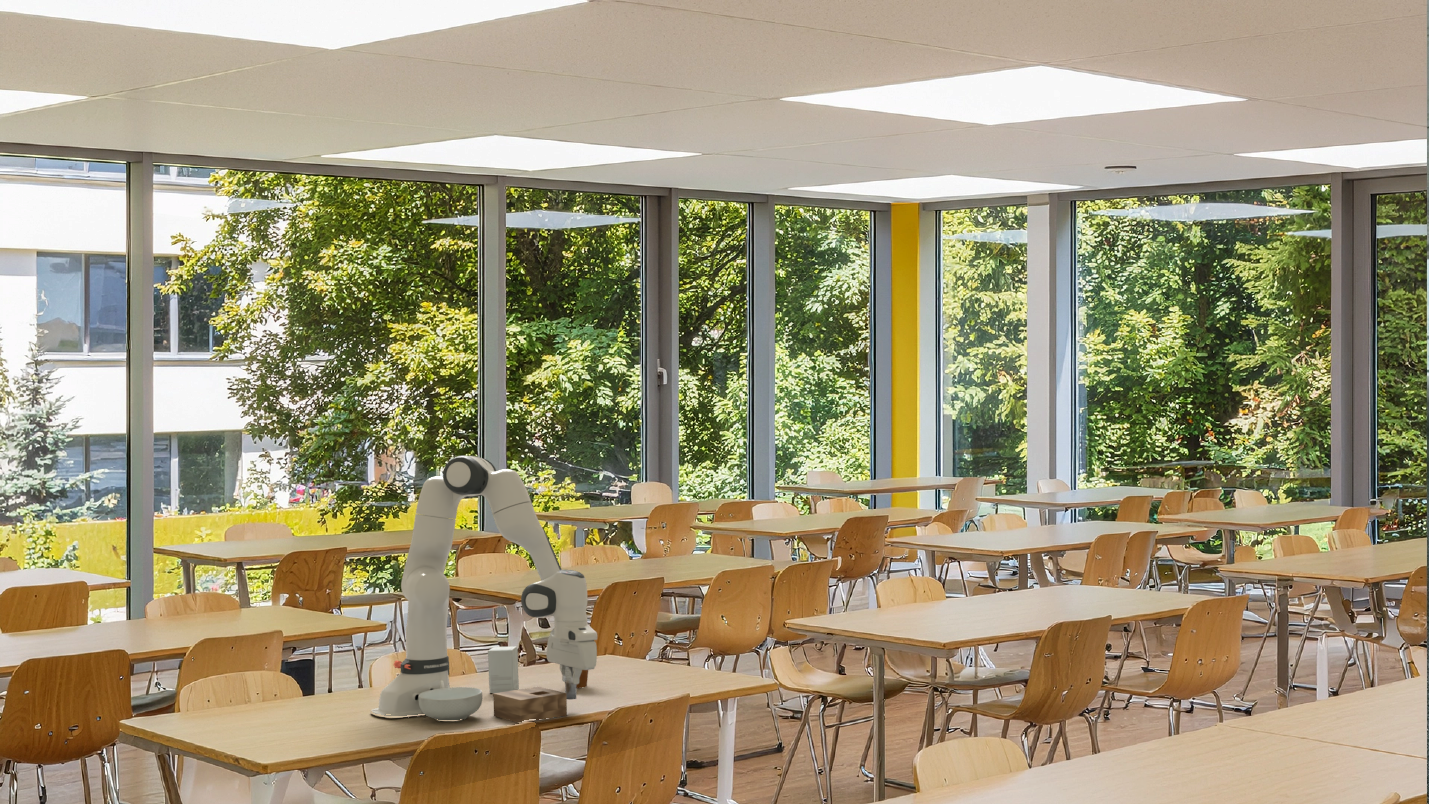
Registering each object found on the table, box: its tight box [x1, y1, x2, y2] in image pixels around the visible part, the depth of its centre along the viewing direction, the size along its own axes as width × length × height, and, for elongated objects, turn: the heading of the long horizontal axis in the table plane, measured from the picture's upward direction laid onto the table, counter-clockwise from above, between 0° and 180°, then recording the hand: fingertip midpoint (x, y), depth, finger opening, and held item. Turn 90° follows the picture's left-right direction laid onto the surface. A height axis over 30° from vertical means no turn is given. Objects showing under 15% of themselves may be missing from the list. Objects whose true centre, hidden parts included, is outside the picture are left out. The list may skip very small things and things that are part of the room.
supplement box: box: [487, 645, 520, 694], centre depth 431 cm, size 7×7×13 cm
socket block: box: [492, 686, 568, 723], centre depth 392 cm, size 14×14×6 cm
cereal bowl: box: [418, 686, 483, 720], centre depth 391 cm, size 17×17×7 cm
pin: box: [564, 666, 577, 701], centre depth 397 cm, size 3×3×10 cm
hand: (570, 682), depth 397 cm, fingers closed on pin, 3 cm apart
